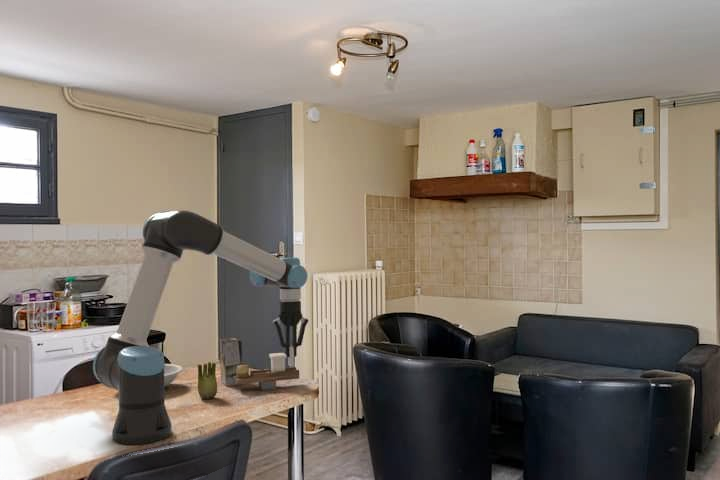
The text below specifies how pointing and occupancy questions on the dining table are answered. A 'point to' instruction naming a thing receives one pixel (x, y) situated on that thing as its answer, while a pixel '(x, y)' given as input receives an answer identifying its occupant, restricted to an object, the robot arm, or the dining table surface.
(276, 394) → the dining table surface
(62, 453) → the dining table surface
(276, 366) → the white rounded block
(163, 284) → the robot arm
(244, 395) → the dining table surface
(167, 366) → the soup bowl
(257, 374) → the beam
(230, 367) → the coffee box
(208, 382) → the fennel bulb
